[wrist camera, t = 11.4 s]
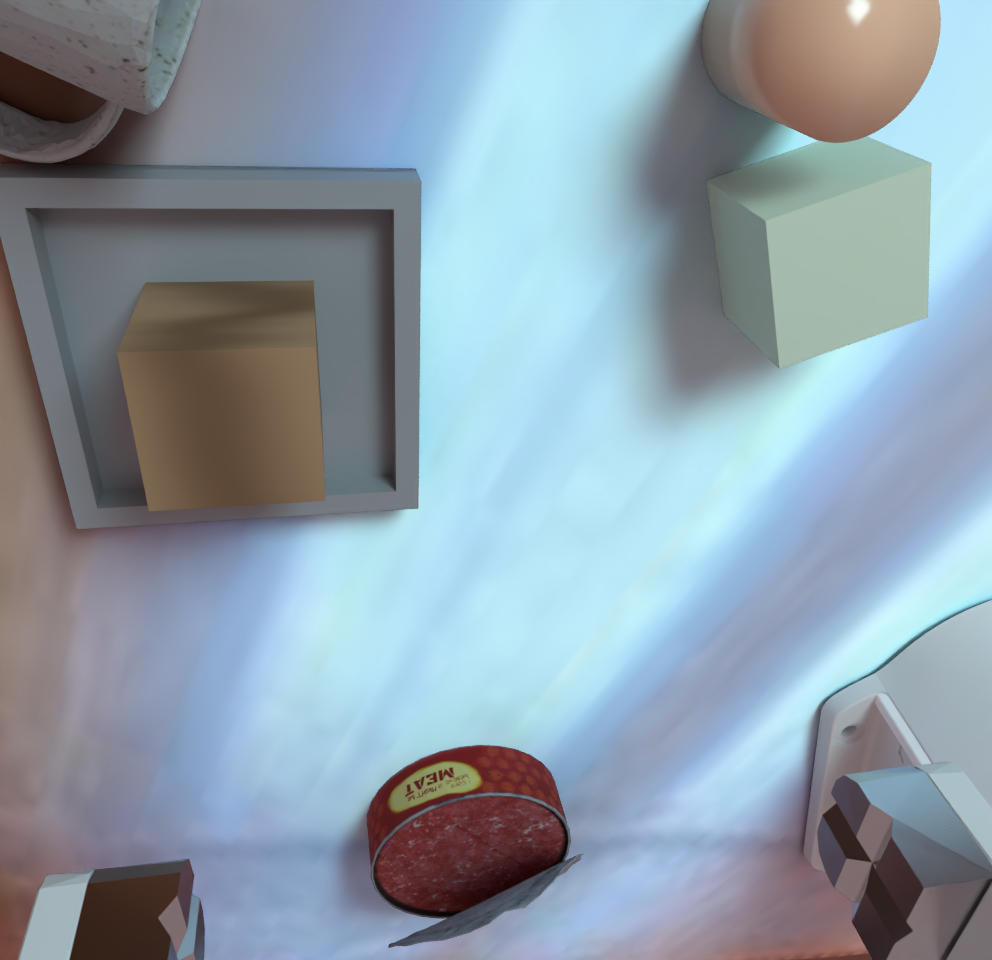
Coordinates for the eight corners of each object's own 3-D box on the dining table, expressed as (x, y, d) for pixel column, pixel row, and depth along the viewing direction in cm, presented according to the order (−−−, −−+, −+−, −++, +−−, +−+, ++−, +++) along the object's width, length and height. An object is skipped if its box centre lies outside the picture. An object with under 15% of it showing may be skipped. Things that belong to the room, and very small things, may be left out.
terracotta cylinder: (817, 108, 28) (908, 144, 23) (689, 104, 27) (758, 141, 23) (857, -53, 25) (965, -45, 21) (717, -63, 24) (801, -55, 20)
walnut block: (313, 280, 27) (315, 347, 23) (322, 419, 30) (325, 501, 26) (145, 282, 26) (116, 352, 22) (170, 425, 29) (149, 511, 25)
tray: (414, 485, 33) (418, 508, 31) (85, 504, 30) (76, 529, 29) (415, 168, 26) (421, 181, 25) (1, 163, 24) (-16, 177, 23)
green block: (853, 268, 31) (927, 317, 27) (722, 314, 31) (779, 368, 27) (848, 129, 28) (931, 162, 25) (704, 179, 28) (765, 220, 25)
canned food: (518, 683, 47) (656, 811, 40) (475, 818, 51) (594, 953, 44) (338, 748, 39) (474, 919, 33) (305, 901, 43) (420, 1079, 37)
